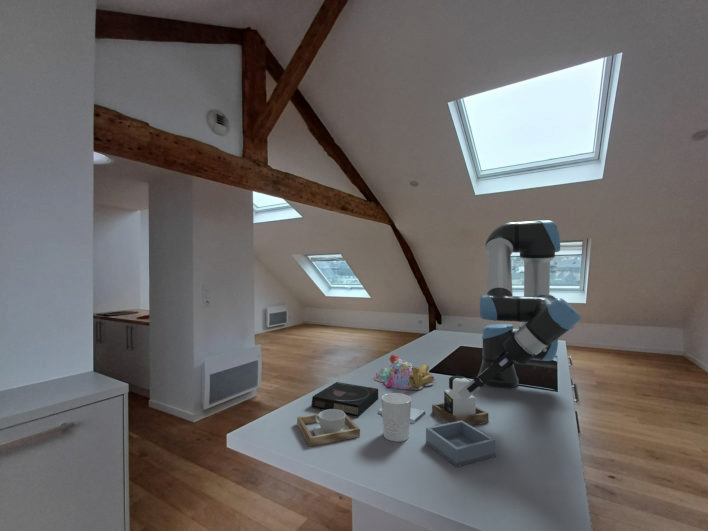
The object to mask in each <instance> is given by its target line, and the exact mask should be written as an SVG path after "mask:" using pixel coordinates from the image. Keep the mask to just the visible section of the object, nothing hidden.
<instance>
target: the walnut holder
mask: <svg viewBox="0 0 708 531" xmlns="http://www.w3.org/2000/svg"><path fill="white" fill-rule="evenodd" d="M431 413H432V414H434V415H435V416H437V417H438V418H440V419H441V420H443V421H445V422H446V423H452V422H457V421H461V420H462V421H464V422H465V423H467V424H469V425H470V426H475V425H479V424H484V423H488V422H489V412H487V411H485V410H483V409H482V408H479V407H477V406H476V414H474V415H469V416H464V417H459V418H457V417H455V416H454V415H452V414H450V413H448V412H447V411H445V410H444V402H439V403H433V404H432V405H431Z"/></svg>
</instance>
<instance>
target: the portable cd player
mask: <svg viewBox="0 0 708 531" xmlns="http://www.w3.org/2000/svg"><path fill="white" fill-rule="evenodd" d="M378 400H379V388H375V387H369V386H363V385H358V384H357V385H356V384H350V383H345V382H338V381H336V382H334V383H332V384H331V385H330V386H328V387H327V386H326V388H324V389H323V390H320V391H319V392H317V393H315V394H314V395H313V396H312V398H311V408H312V409H317V410H320V411H324V410H328V409H337V410H342V411H343V412H344V413H345V414H346V415H347V416H348V417H354V418H359V417H360V416H361V415H363V414H364V413H365V412H366V411H367V410H368V409H370V407H372V406H373V405H374V404H375V403H376V402H377V401H378Z"/></svg>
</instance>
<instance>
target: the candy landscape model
mask: <svg viewBox="0 0 708 531" xmlns="http://www.w3.org/2000/svg"><path fill="white" fill-rule="evenodd" d="M389 361H390V363H391V365H389V369H388V368H386V367H382V368H381V369H380V370H379V372H377V371H375V377H374V380H375V381H376V382H379V383H383V384H384V385H385V386H386V388H391V389H395V390H409V391H410V390H411V391H413V390H414V391H418V390H422V389H423V388H424V387H428V386H433V385H434V384H435V381H436V377H435V376H432V374H430V372H429V369H430V366H428V364H426V363H421V365H420V366H419V367H418V366H417V367H415V366H413V364H412V363H411V362H408V361H405V359H401V358H400V357H399V356H398V354H395V353H393V354H391V355H390V356H389Z"/></svg>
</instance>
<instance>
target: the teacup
mask: <svg viewBox="0 0 708 531" xmlns="http://www.w3.org/2000/svg"><path fill="white" fill-rule="evenodd" d="M317 414H318V415H316V416H315V421H316V422H315V423H316V424H318V425H316V426H314V428H313V433H314V434H315V435H314V436H317V435H323V434H328V433H333V432H339V431H344V430H349V429H350V428H349V427H348V426H347V425H346V424H345V423H344V422H345V413H344V412H343V411H341V410H337V409H328V410H320V412H319V413H317ZM317 417H318V418H319V421H318V419H317Z"/></svg>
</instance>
